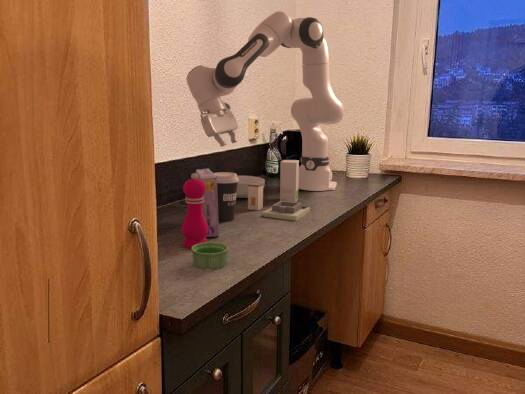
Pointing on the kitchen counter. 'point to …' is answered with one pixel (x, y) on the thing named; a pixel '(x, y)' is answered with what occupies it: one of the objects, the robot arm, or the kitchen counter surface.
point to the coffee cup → (226, 195)
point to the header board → (287, 210)
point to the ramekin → (209, 255)
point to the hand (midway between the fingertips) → (229, 144)
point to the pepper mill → (194, 212)
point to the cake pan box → (210, 201)
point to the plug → (255, 196)
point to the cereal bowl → (246, 185)
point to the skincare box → (289, 180)
